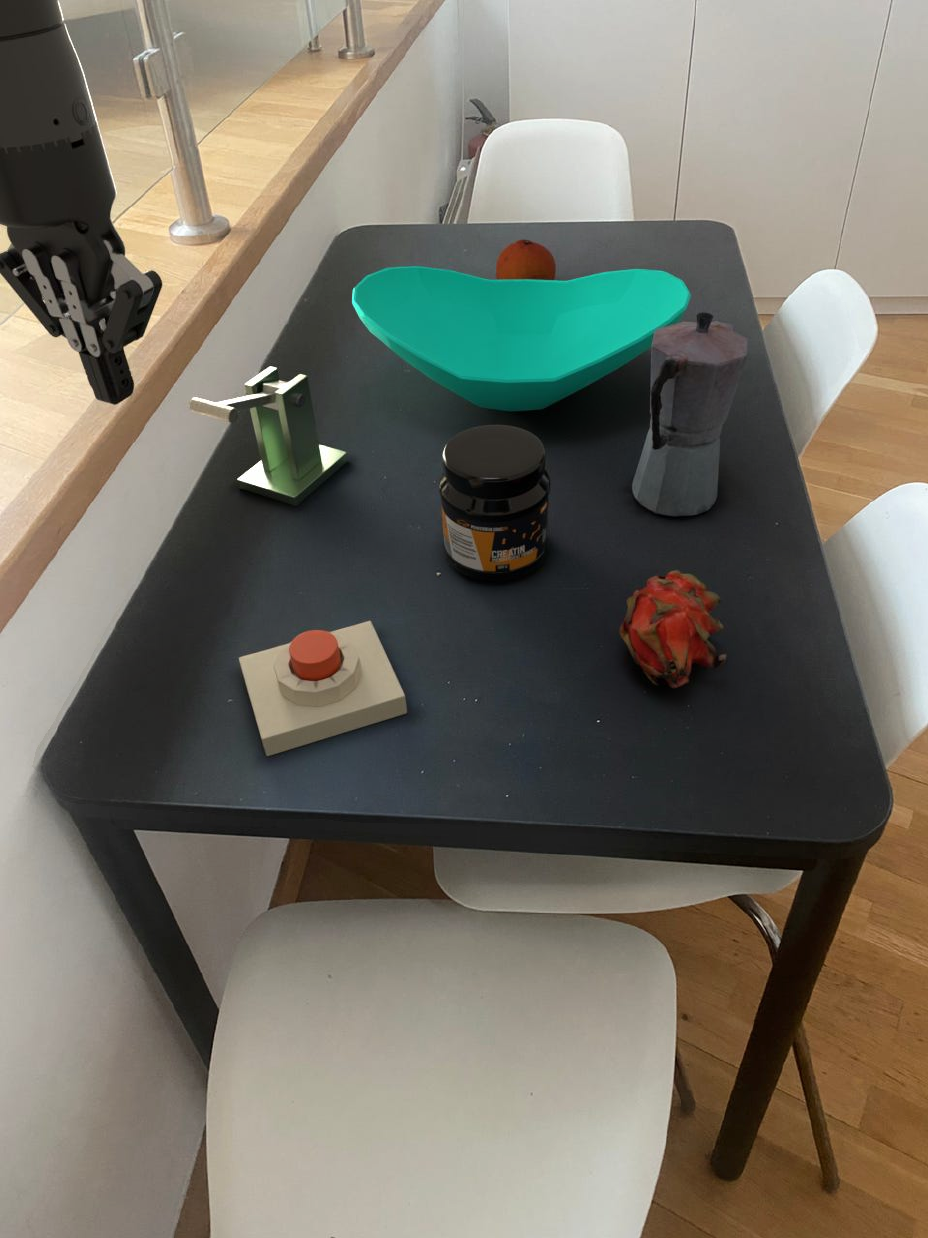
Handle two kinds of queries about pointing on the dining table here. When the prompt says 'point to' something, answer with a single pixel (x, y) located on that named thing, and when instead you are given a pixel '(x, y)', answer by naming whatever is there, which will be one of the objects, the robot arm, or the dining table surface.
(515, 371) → the table top decor
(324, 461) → the switch bracket
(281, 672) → the button base
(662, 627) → the dragon fruit
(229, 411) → the switch lever
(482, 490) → the supplement container
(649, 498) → the moka pot
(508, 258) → the fruit
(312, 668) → the button
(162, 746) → the dining table surface
